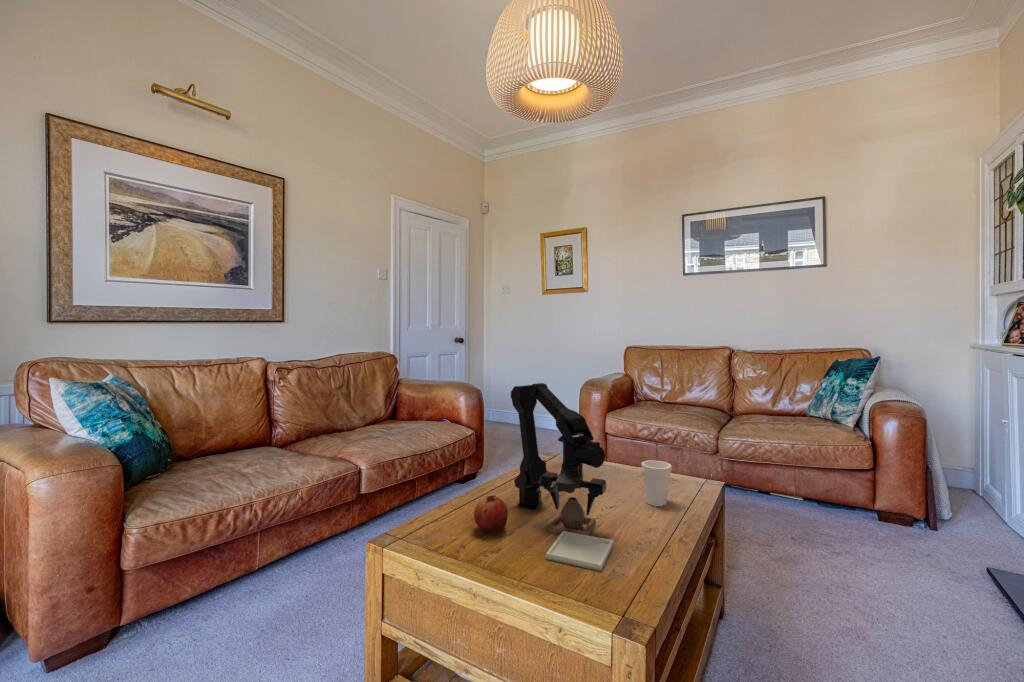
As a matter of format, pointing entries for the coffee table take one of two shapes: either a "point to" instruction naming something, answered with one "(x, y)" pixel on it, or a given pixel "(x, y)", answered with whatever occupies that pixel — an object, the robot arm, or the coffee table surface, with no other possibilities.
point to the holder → (558, 530)
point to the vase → (572, 514)
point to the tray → (580, 550)
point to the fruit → (491, 514)
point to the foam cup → (656, 481)
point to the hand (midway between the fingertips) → (572, 511)
